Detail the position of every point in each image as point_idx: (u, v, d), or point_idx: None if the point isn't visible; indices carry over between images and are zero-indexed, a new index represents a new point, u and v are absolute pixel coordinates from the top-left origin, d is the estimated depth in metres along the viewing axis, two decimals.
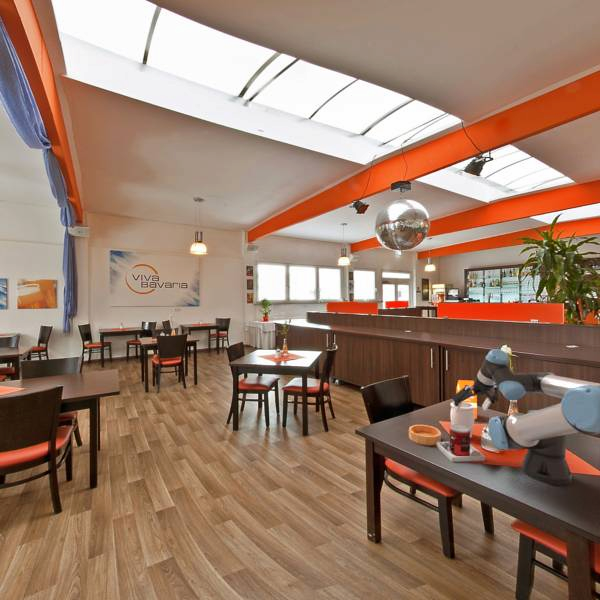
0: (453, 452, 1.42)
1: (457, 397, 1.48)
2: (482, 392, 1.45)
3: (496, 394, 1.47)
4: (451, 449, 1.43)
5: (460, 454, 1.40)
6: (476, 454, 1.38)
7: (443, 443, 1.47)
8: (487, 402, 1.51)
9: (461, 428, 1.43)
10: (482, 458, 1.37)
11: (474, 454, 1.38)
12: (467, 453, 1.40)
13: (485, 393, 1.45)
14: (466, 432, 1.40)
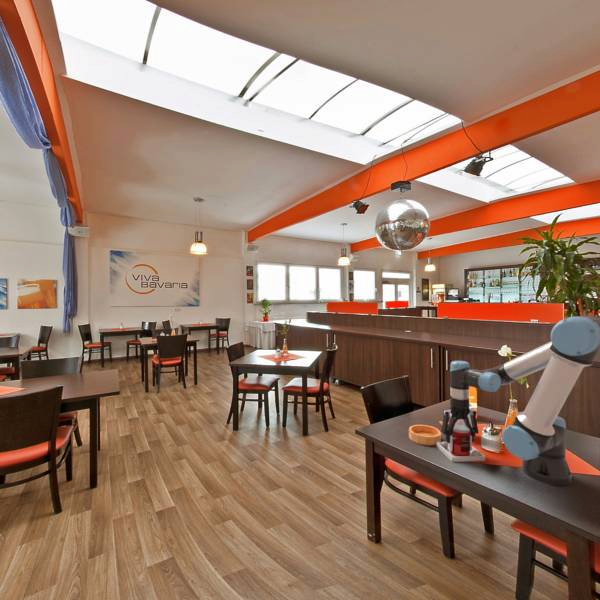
0: (453, 452, 1.42)
1: (443, 428, 1.42)
2: (462, 415, 1.42)
3: (475, 421, 1.42)
4: None
5: (460, 454, 1.40)
6: (476, 454, 1.38)
7: (443, 443, 1.47)
8: None
9: (461, 428, 1.43)
10: (482, 458, 1.37)
11: (474, 454, 1.38)
12: (467, 453, 1.40)
13: (464, 415, 1.41)
14: (466, 432, 1.40)
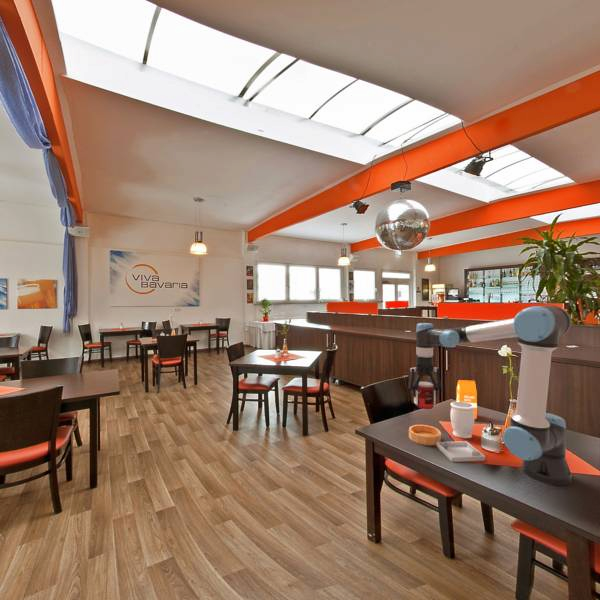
0: (418, 405, 1.56)
1: (410, 383, 1.57)
2: (426, 372, 1.56)
3: (438, 377, 1.57)
4: None
5: (424, 406, 1.54)
6: (476, 454, 1.38)
7: (443, 443, 1.47)
8: None
9: (426, 384, 1.58)
10: (482, 458, 1.37)
11: (474, 454, 1.38)
12: (430, 405, 1.54)
13: (428, 371, 1.56)
14: (429, 386, 1.54)
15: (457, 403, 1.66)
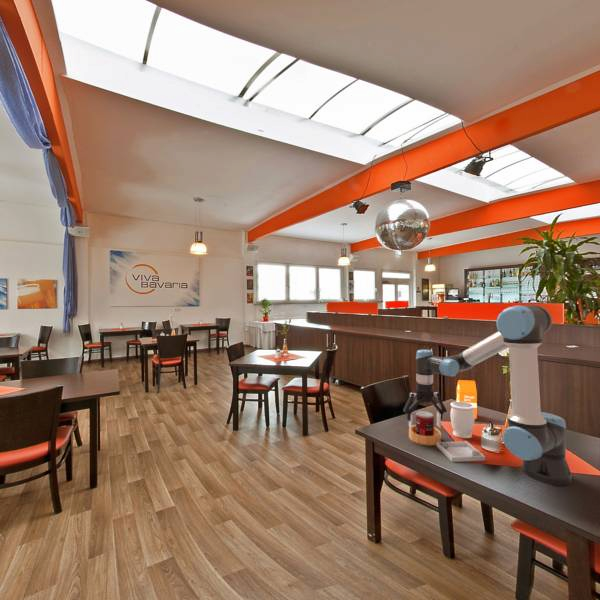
0: None
1: (406, 407, 1.57)
2: (426, 399, 1.57)
3: (441, 402, 1.57)
4: (417, 433, 1.58)
5: None
6: (476, 454, 1.38)
7: (443, 443, 1.47)
8: (438, 416, 1.58)
9: (426, 414, 1.58)
10: (482, 458, 1.37)
11: (474, 454, 1.38)
12: None
13: (429, 398, 1.56)
14: (430, 417, 1.54)
15: (457, 403, 1.66)
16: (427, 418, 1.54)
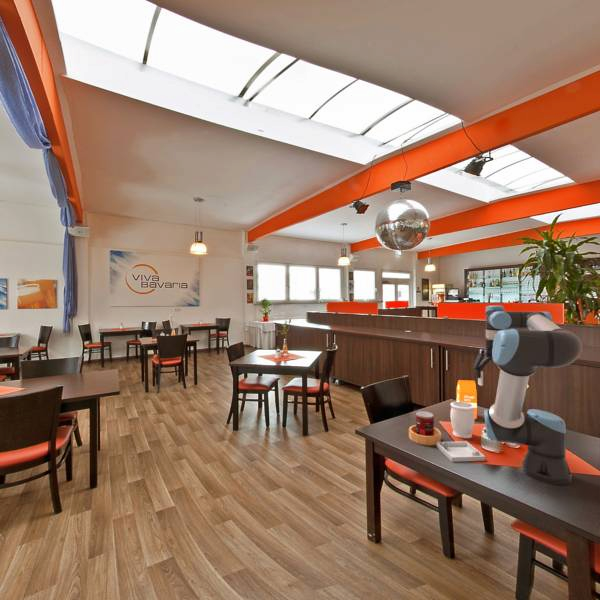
0: None
1: (476, 364, 1.53)
2: None
3: None
4: (417, 433, 1.58)
5: None
6: (476, 454, 1.38)
7: (443, 443, 1.47)
8: None
9: (426, 414, 1.58)
10: (482, 458, 1.37)
11: (474, 454, 1.38)
12: None
13: None
14: (430, 417, 1.54)
15: (457, 403, 1.66)
16: (427, 418, 1.54)
